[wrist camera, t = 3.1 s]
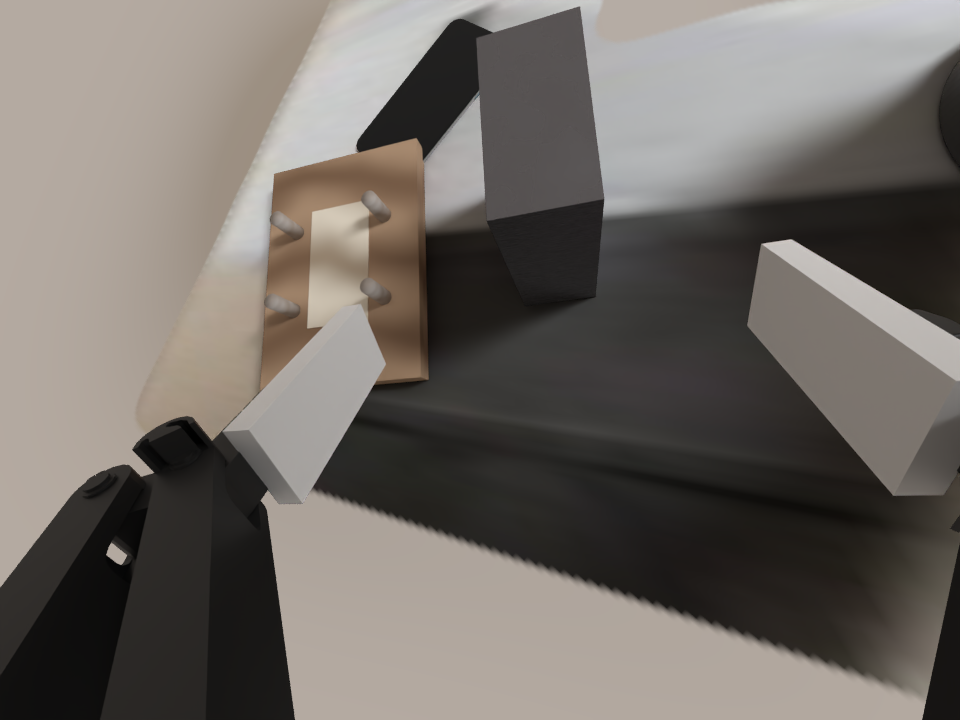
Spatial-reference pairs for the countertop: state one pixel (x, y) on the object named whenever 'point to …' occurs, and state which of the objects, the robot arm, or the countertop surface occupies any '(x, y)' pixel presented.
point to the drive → (542, 157)
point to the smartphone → (431, 93)
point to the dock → (350, 257)
